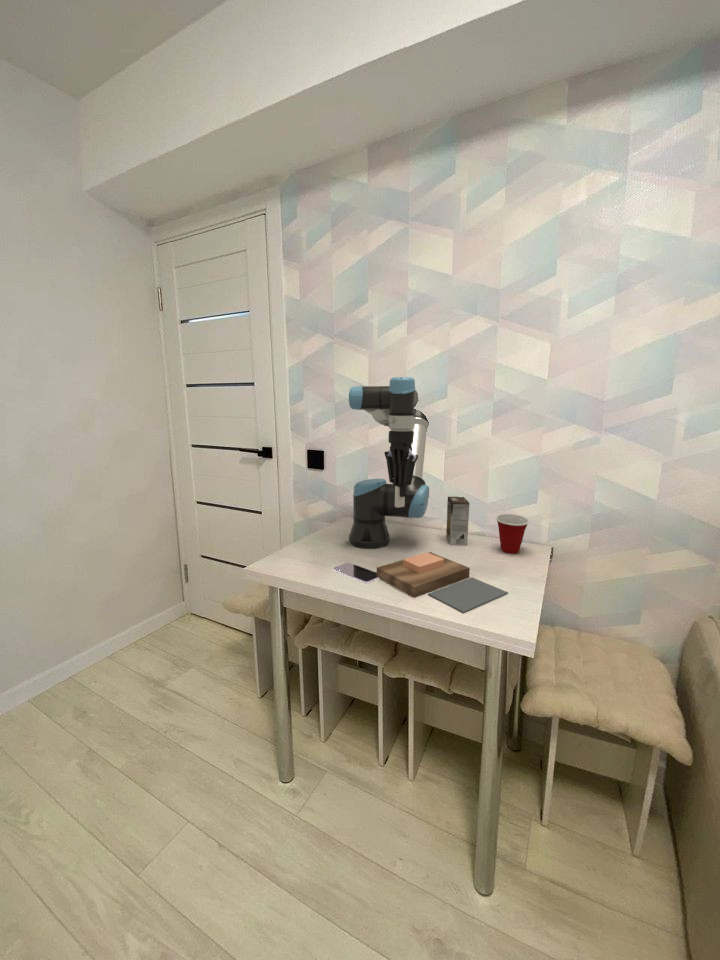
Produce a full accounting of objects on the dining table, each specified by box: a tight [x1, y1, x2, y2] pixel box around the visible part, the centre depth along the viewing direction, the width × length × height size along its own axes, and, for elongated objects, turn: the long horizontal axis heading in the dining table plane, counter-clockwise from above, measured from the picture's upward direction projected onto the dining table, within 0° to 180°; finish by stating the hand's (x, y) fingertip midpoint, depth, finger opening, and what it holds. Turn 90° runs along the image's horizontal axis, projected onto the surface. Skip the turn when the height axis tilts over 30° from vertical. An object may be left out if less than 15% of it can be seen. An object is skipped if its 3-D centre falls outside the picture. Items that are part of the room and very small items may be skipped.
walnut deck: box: [376, 551, 471, 598], centre depth 119 cm, size 16×22×3 cm
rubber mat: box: [427, 577, 509, 614], centre depth 108 cm, size 12×18×1 cm, turn 126°
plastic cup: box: [495, 513, 530, 555], centre depth 140 cm, size 11×11×12 cm
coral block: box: [402, 552, 444, 574], centre depth 120 cm, size 7×10×2 cm
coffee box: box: [445, 496, 470, 546], centre depth 150 cm, size 9×6×16 cm
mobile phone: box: [332, 562, 379, 584], centre depth 122 cm, size 8×1×15 cm
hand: (399, 506), depth 126 cm, fingers closed
